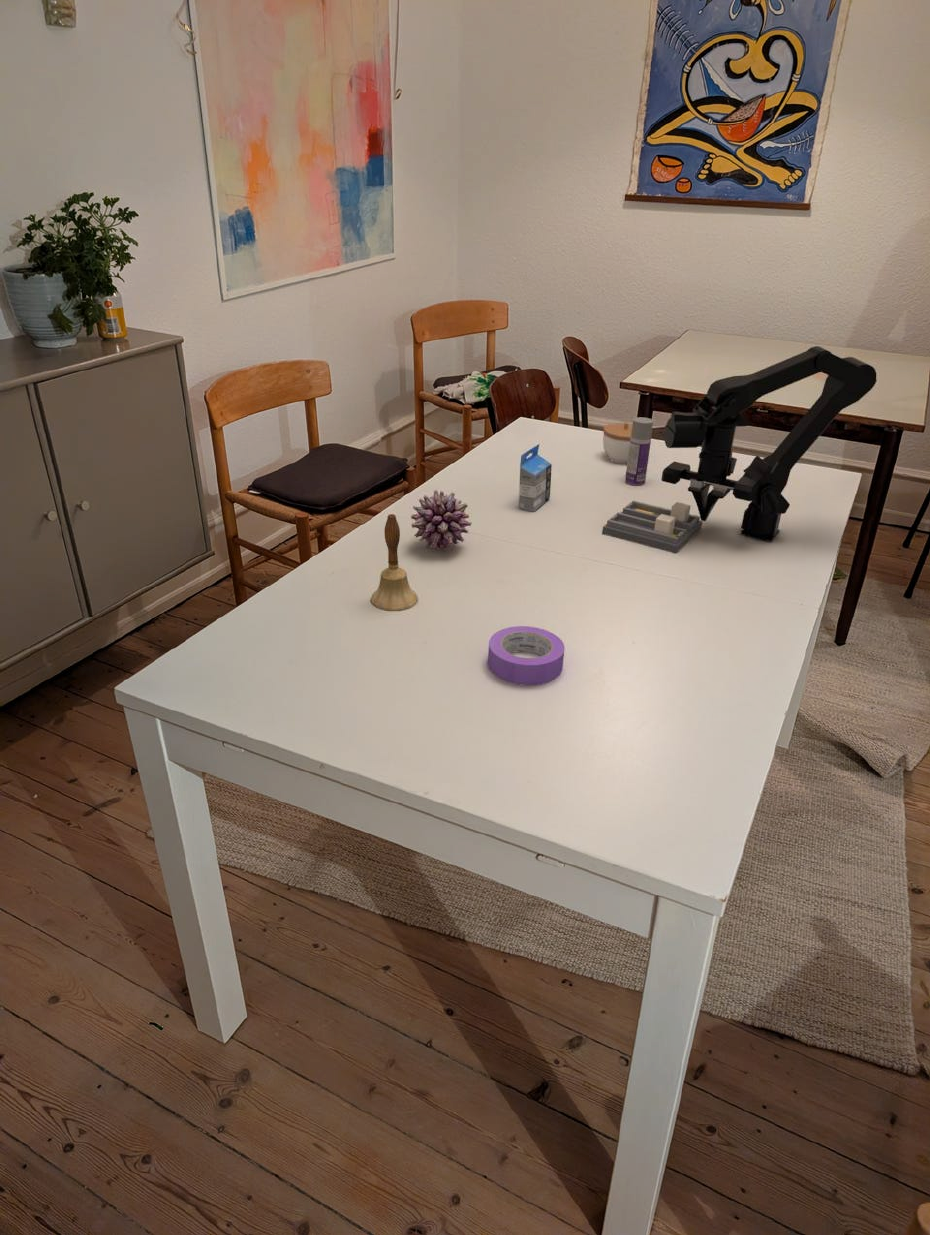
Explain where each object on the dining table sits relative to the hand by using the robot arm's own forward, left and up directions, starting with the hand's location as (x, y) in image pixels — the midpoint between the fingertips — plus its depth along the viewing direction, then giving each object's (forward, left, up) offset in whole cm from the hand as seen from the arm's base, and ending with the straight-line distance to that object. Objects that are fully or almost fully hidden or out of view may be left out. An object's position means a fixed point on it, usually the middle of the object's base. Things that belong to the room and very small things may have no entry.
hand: (703, 520), depth 179 cm
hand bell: (+35, +59, -4) cm, 69 cm away
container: (+23, -20, -4) cm, 31 cm away
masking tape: (+6, +64, -4) cm, 64 cm away
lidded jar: (+32, -33, -4) cm, 46 cm away
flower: (+40, +37, -4) cm, 55 cm away
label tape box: (+36, +6, -4) cm, 37 cm away
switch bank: (+9, +4, -3) cm, 10 cm away
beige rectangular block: (+5, 0, -2) cm, 5 cm away
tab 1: (+5, +8, -2) cm, 10 cm away
